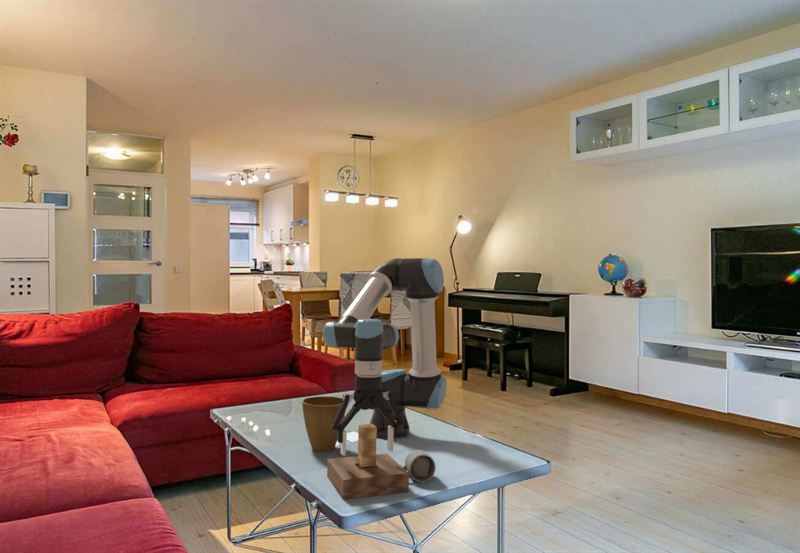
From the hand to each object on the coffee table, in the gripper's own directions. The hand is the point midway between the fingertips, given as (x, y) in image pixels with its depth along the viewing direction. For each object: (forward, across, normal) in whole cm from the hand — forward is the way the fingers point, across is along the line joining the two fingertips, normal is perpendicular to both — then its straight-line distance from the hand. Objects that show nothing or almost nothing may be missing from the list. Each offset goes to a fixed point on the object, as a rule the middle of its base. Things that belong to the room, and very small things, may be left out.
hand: (367, 452), depth 159 cm
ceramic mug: (+9, +14, 0) cm, 17 cm away
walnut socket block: (+9, 0, 0) cm, 9 cm away
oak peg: (+8, 0, 0) cm, 8 cm away
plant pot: (+9, -4, +36) cm, 37 cm away
